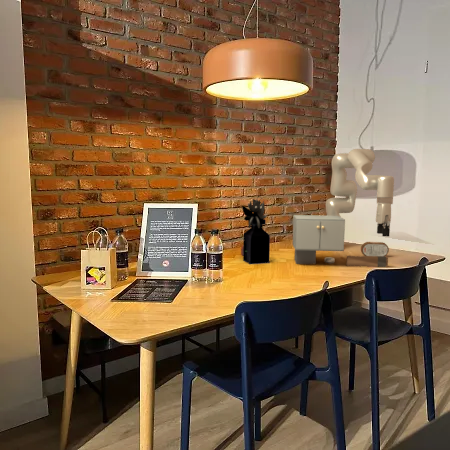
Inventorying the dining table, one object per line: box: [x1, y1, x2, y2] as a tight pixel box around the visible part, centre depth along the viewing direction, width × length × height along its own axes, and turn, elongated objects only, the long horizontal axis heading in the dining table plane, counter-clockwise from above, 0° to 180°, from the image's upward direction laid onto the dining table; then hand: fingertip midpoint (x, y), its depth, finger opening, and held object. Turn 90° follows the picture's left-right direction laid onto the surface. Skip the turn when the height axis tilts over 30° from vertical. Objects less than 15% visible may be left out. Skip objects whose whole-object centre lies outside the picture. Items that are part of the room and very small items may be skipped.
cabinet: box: [292, 214, 346, 265], centre depth 225 cm, size 20×24×24 cm
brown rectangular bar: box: [346, 255, 389, 268], centre depth 219 cm, size 2×20×5 cm, turn 86°
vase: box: [241, 195, 271, 265], centre depth 225 cm, size 14×12×35 cm
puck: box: [324, 256, 335, 264], centre depth 228 cm, size 5×5×2 cm
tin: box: [360, 241, 390, 256], centre depth 244 cm, size 15×3×8 cm, turn 84°
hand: (382, 234), depth 217 cm, fingers open, 9 cm apart
